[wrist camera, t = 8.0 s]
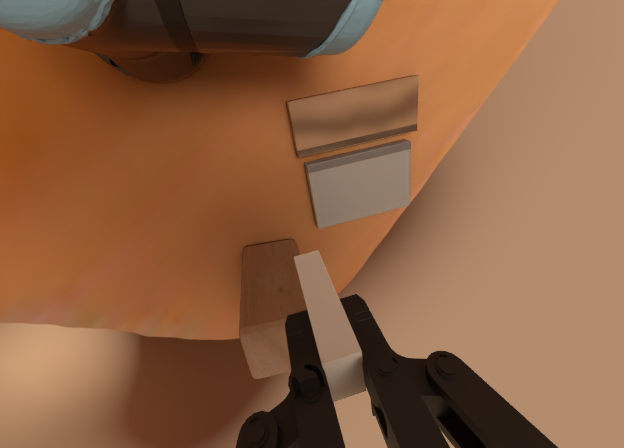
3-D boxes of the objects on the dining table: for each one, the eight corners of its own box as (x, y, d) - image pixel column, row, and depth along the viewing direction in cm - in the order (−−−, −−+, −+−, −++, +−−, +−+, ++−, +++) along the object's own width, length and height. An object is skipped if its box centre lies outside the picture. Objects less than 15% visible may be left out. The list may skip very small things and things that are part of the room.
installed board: (285, 101, 37) (287, 102, 35) (410, 75, 39) (419, 74, 37) (296, 154, 41) (298, 158, 39) (409, 128, 43) (416, 130, 41)
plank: (304, 162, 42) (306, 165, 40) (404, 139, 44) (410, 141, 42) (316, 224, 48) (318, 229, 46) (403, 201, 49) (409, 205, 48)
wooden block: (294, 236, 48) (319, 317, 31) (299, 276, 53) (322, 366, 36) (241, 245, 47) (237, 336, 29) (251, 285, 51) (252, 384, 34)
